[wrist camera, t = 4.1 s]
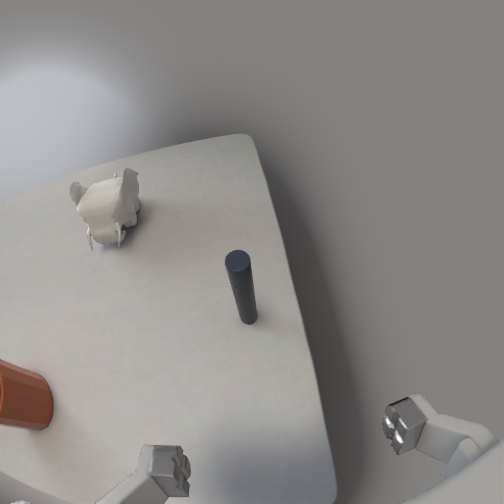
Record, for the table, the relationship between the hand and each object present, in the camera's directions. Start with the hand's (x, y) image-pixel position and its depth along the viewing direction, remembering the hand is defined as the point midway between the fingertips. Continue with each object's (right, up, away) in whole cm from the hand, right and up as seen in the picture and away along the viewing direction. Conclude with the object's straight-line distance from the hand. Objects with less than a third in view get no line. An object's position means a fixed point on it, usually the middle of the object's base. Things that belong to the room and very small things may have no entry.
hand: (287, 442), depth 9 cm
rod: (-2, 0, +21) cm, 21 cm away
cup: (-30, -12, +15) cm, 36 cm away
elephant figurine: (-21, +11, +30) cm, 38 cm away
